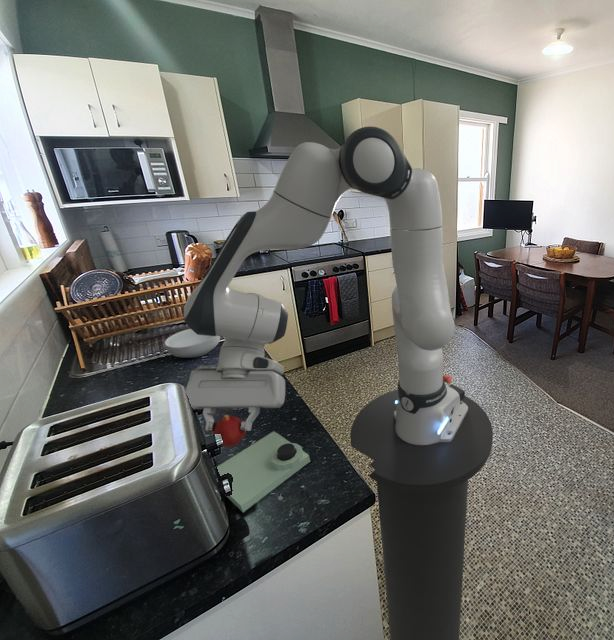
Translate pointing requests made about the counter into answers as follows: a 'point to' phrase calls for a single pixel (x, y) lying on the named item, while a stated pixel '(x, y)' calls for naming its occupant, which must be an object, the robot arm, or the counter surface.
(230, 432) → the onion
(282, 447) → the button
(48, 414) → the counter surface
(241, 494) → the scale
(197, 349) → the cereal bowl
